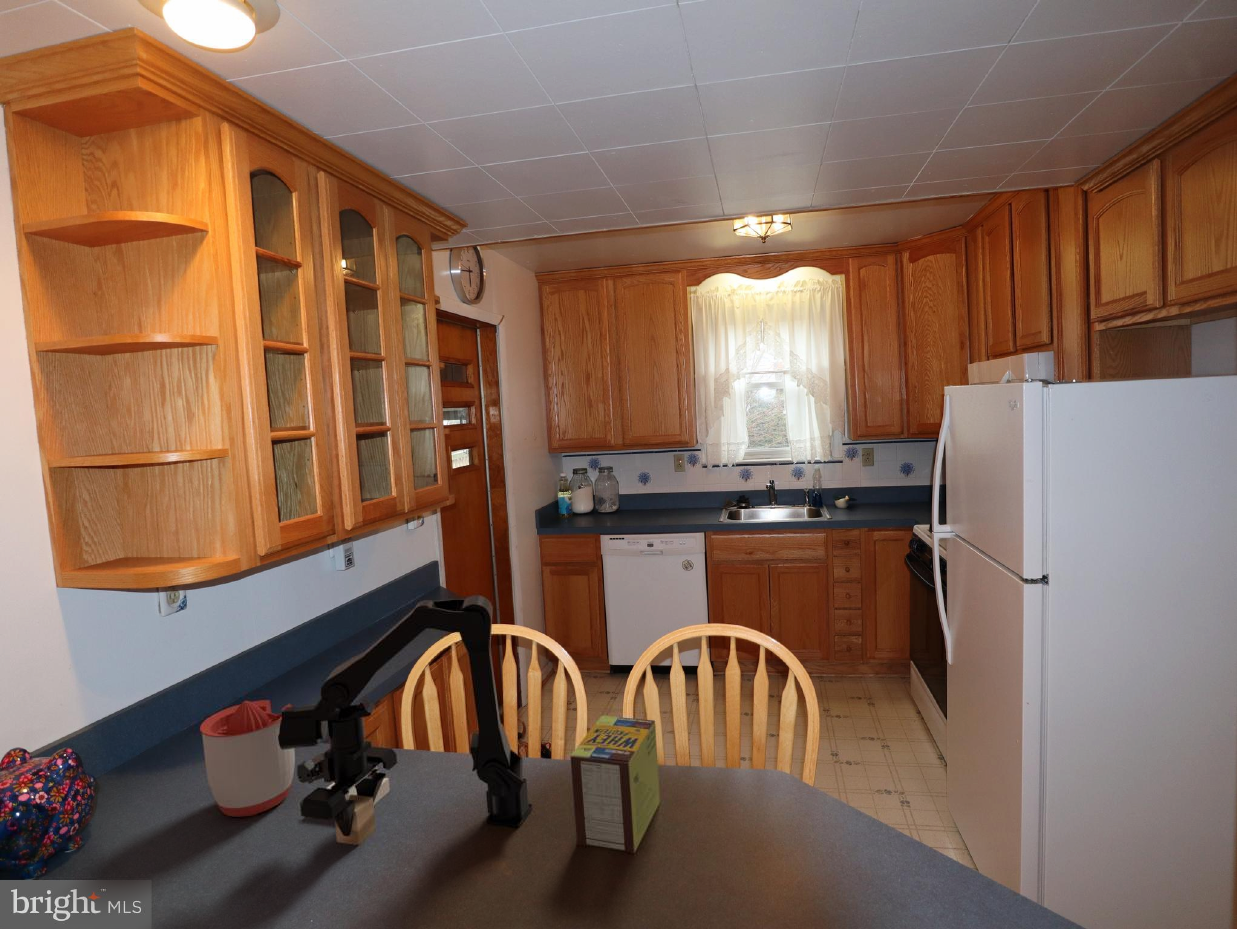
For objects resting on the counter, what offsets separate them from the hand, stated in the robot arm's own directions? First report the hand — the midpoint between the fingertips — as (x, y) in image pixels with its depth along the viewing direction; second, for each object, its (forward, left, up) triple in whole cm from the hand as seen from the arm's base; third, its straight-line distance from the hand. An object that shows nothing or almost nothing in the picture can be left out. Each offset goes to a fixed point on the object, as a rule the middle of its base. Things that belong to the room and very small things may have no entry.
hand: (355, 827), depth 123 cm
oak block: (0, 0, -2) cm, 2 cm away
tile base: (+8, -9, -2) cm, 12 cm away
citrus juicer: (+27, -6, -2) cm, 28 cm away
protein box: (-44, -13, -2) cm, 46 cm away
